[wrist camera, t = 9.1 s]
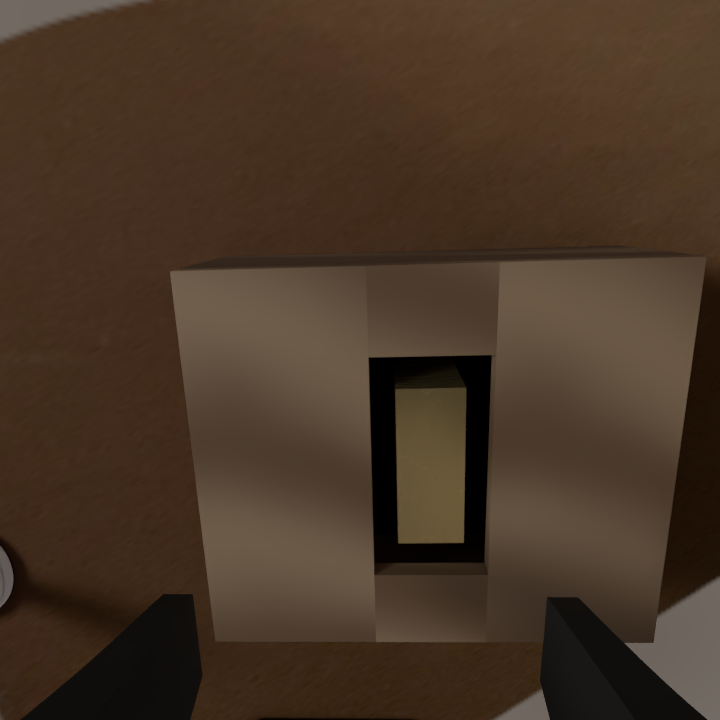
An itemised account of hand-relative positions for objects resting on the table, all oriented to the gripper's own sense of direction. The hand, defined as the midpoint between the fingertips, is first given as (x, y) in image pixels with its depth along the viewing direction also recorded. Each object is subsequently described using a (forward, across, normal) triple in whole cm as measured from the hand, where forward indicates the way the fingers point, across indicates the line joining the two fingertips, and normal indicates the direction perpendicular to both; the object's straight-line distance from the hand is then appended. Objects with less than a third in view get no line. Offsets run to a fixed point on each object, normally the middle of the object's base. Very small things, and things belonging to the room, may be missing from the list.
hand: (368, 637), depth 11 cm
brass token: (+10, -2, -1) cm, 11 cm away
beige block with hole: (+10, -2, -1) cm, 11 cm away
